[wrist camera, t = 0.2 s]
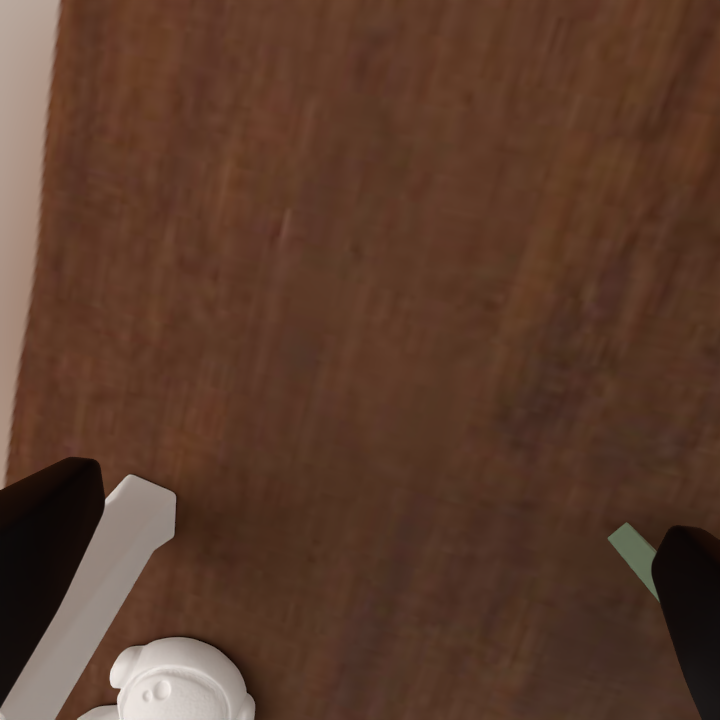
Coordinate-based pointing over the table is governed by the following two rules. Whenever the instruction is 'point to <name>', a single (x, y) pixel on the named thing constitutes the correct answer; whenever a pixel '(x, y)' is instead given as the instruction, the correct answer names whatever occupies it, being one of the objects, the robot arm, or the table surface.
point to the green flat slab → (635, 553)
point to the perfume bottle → (93, 596)
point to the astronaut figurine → (176, 684)
